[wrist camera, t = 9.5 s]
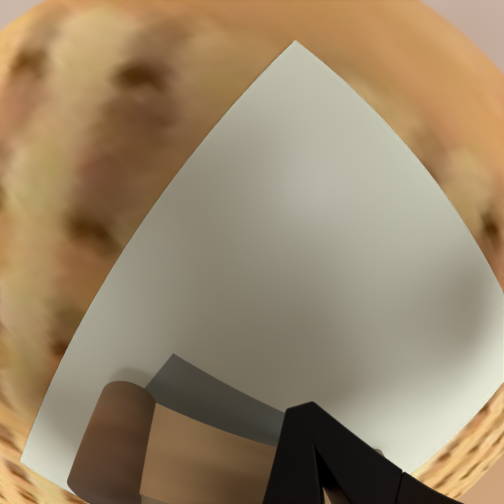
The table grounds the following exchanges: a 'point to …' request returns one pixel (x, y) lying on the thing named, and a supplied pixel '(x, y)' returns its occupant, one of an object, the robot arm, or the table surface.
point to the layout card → (292, 286)
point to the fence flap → (164, 456)
